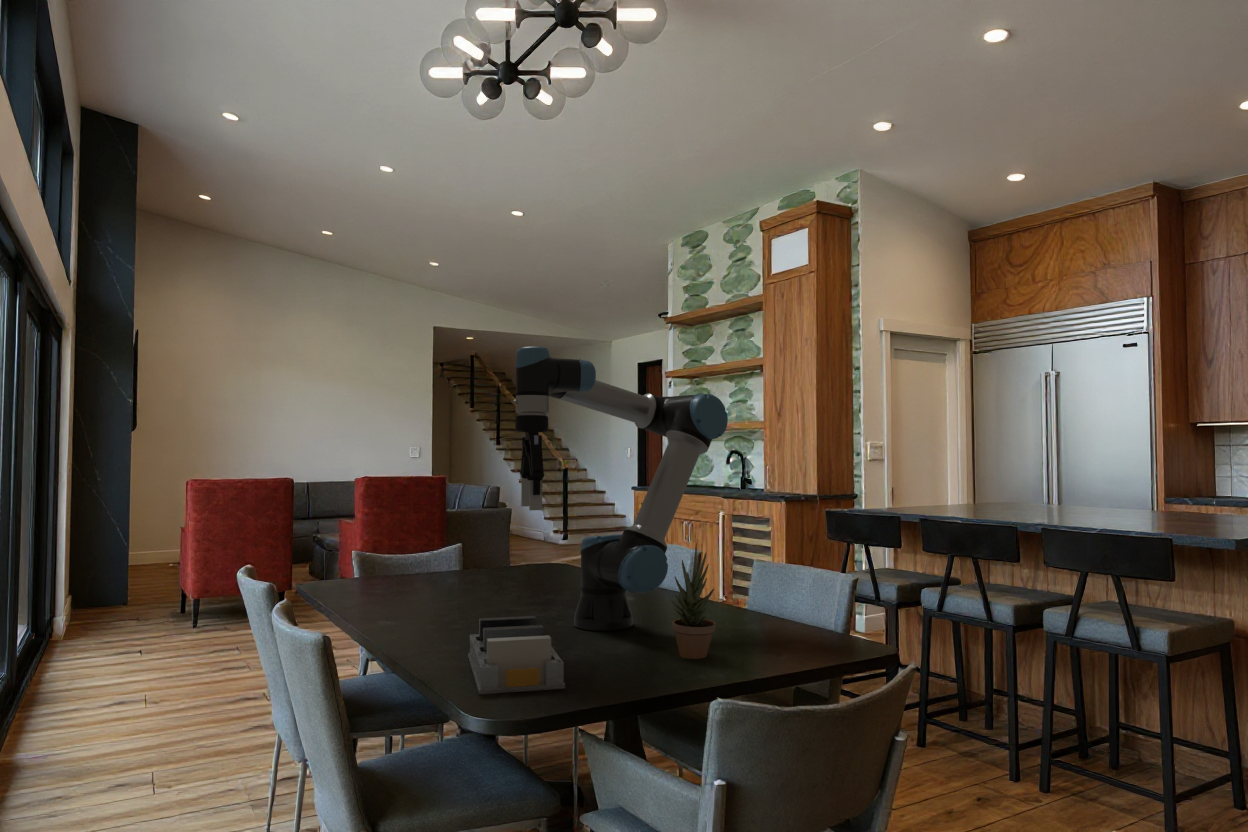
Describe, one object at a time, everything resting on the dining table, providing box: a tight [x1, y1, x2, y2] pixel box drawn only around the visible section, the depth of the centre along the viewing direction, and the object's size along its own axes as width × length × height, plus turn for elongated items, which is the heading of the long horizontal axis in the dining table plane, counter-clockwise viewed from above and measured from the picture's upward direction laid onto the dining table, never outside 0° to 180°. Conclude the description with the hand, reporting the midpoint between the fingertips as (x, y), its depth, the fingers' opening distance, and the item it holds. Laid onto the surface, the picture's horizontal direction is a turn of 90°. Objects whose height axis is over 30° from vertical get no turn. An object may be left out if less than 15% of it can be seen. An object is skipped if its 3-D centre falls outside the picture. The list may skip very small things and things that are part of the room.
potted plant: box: [671, 542, 716, 660], centre depth 183 cm, size 10×10×25 cm
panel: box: [487, 634, 552, 684], centre depth 159 cm, size 3×12×8 cm, turn 105°
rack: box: [467, 615, 566, 695], centre depth 169 cm, size 29×16×9 cm, turn 14°
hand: (531, 508), depth 189 cm, fingers open, 13 cm apart
